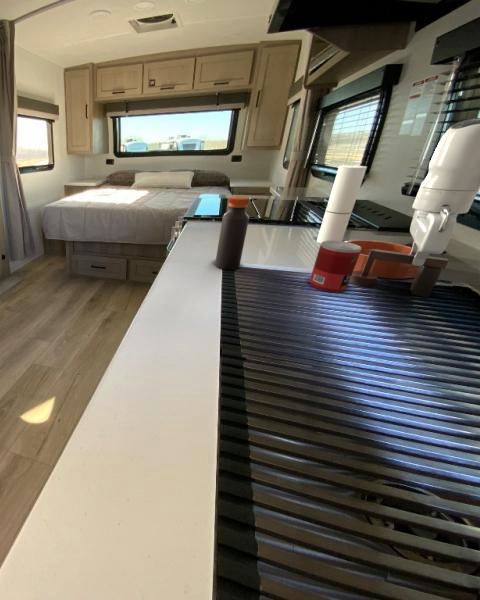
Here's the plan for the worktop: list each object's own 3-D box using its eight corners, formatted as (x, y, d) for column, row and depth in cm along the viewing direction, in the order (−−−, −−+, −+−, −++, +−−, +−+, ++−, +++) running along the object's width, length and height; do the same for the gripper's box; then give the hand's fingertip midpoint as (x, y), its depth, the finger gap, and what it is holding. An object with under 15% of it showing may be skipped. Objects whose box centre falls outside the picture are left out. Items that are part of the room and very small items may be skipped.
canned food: (347, 295, 80) (363, 251, 75) (308, 288, 84) (321, 247, 79) (345, 283, 86) (360, 242, 81) (308, 278, 90) (320, 238, 85)
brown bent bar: (428, 291, 81) (445, 256, 77) (431, 299, 77) (450, 263, 73) (349, 277, 89) (361, 245, 85) (348, 284, 86) (361, 251, 81)
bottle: (241, 271, 96) (255, 200, 87) (216, 270, 97) (228, 200, 88) (236, 263, 101) (249, 195, 93) (213, 262, 103) (223, 195, 94)
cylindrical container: (340, 240, 118) (365, 165, 107) (341, 246, 113) (368, 167, 101) (316, 238, 121) (338, 165, 110) (316, 243, 116) (339, 167, 105)
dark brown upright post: (426, 291, 81) (439, 264, 77) (428, 297, 78) (442, 270, 75) (409, 288, 82) (421, 262, 79) (411, 294, 79) (423, 267, 76)
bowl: (414, 264, 96) (422, 246, 94) (422, 286, 83) (432, 265, 81) (336, 253, 107) (341, 236, 104) (333, 271, 93) (339, 252, 91)
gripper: (475, 212, 63) (441, 278, 69) (453, 195, 77) (427, 252, 84) (429, 208, 66) (401, 272, 73) (416, 193, 81) (394, 248, 87)
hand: (415, 261), depth 78 cm, fingers open, 4 cm apart
